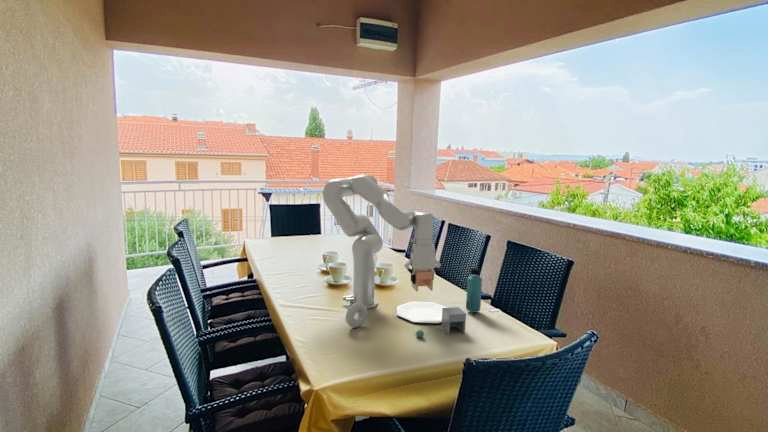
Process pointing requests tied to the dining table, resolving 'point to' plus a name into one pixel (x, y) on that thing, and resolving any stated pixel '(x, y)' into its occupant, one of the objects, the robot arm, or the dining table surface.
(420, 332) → the marble
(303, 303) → the dining table surface
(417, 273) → the pink open box
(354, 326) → the donut
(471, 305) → the beverage bottle
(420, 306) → the plate
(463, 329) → the open-front grey box
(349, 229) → the robot arm
